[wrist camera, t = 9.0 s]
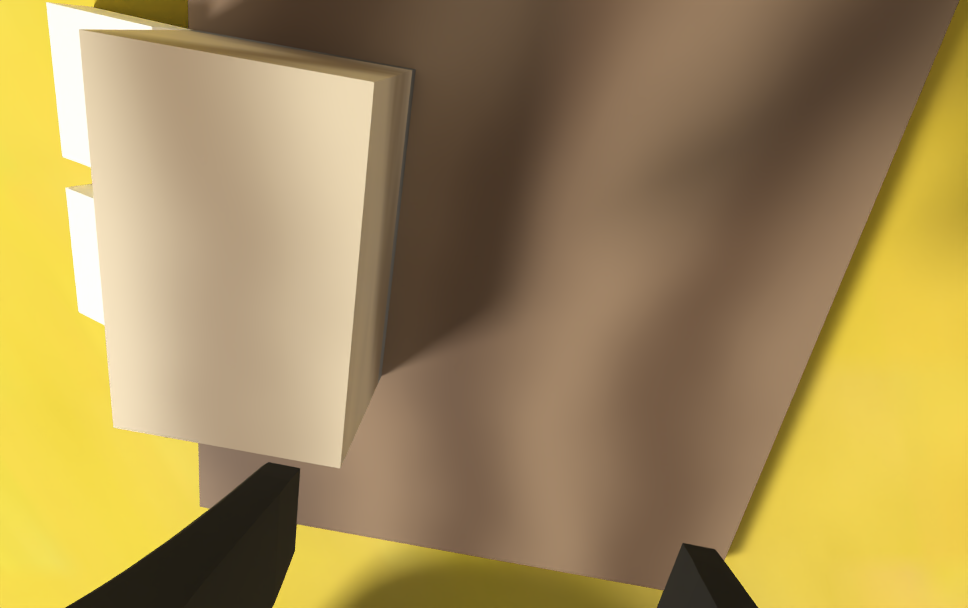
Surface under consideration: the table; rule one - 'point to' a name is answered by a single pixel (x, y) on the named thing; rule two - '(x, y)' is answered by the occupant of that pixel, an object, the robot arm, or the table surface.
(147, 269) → the block
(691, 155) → the walnut board
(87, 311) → the paint flake
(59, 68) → the paint flake
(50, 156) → the table surface
